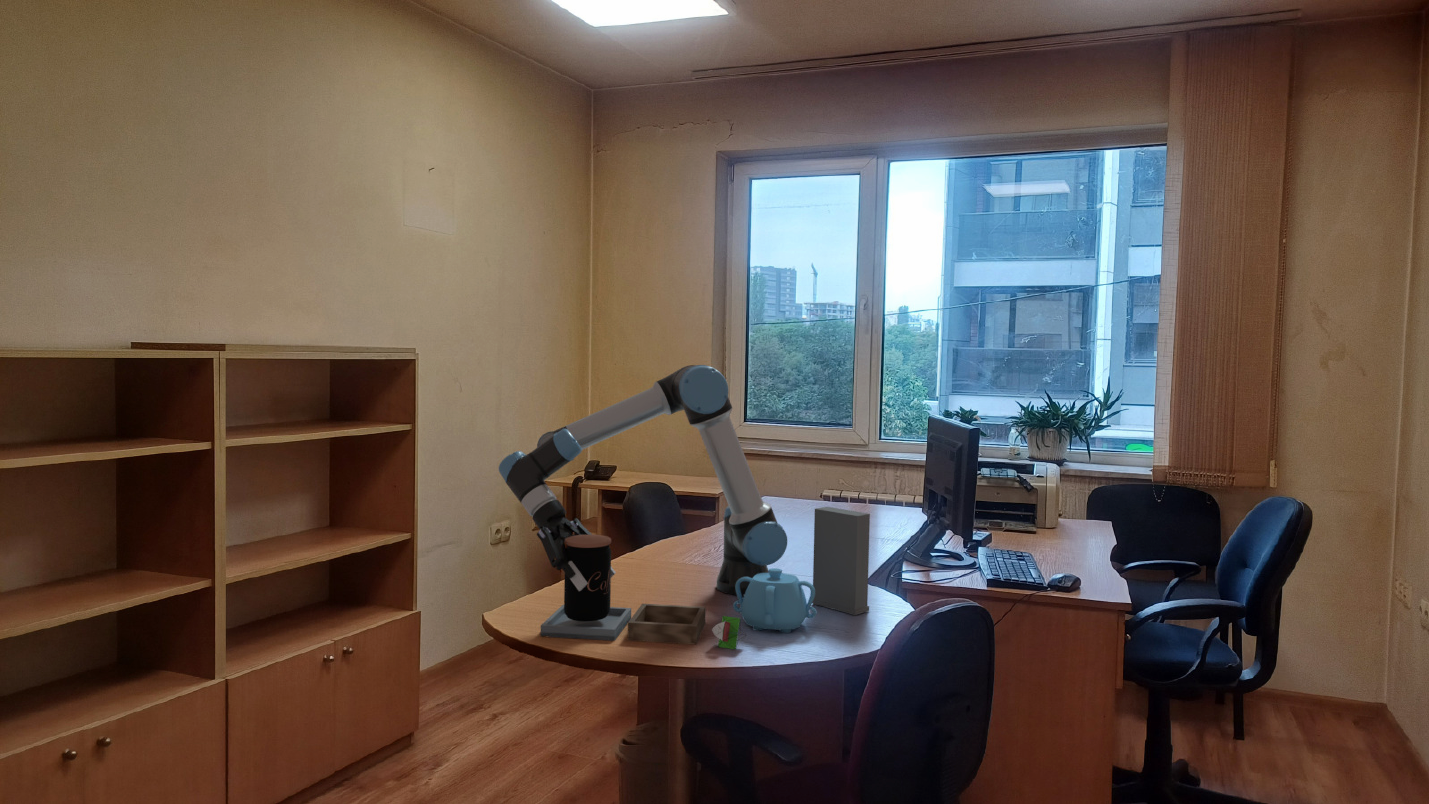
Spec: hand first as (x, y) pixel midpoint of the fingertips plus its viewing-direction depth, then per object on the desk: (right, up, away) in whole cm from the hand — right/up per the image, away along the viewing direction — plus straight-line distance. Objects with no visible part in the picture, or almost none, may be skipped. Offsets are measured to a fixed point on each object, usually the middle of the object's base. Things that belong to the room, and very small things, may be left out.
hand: (597, 581), depth 200 cm
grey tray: (-3, -11, +2) cm, 11 cm away
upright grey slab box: (+59, -11, +21) cm, 64 cm away
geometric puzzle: (+30, -12, -10) cm, 34 cm away
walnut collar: (+16, -11, 0) cm, 20 cm away
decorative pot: (+41, -12, +6) cm, 43 cm away
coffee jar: (-3, -8, +2) cm, 9 cm away
